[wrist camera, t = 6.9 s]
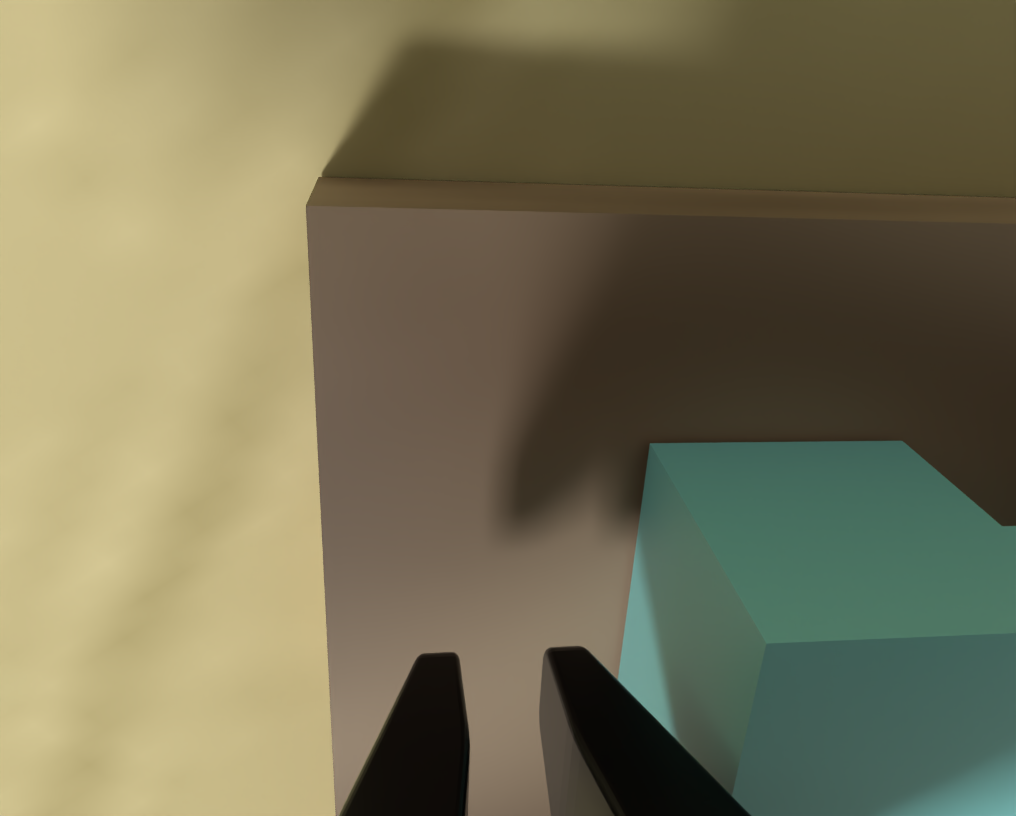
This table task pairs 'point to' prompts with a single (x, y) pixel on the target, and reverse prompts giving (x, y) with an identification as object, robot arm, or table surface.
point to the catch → (826, 628)
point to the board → (605, 404)
